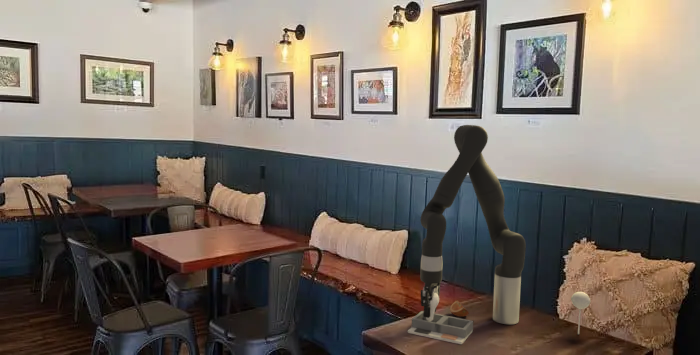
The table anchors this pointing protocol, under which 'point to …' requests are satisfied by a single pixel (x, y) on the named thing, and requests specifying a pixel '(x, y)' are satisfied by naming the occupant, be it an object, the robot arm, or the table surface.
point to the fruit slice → (458, 309)
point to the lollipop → (580, 303)
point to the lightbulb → (433, 306)
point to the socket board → (442, 327)
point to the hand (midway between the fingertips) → (429, 314)
